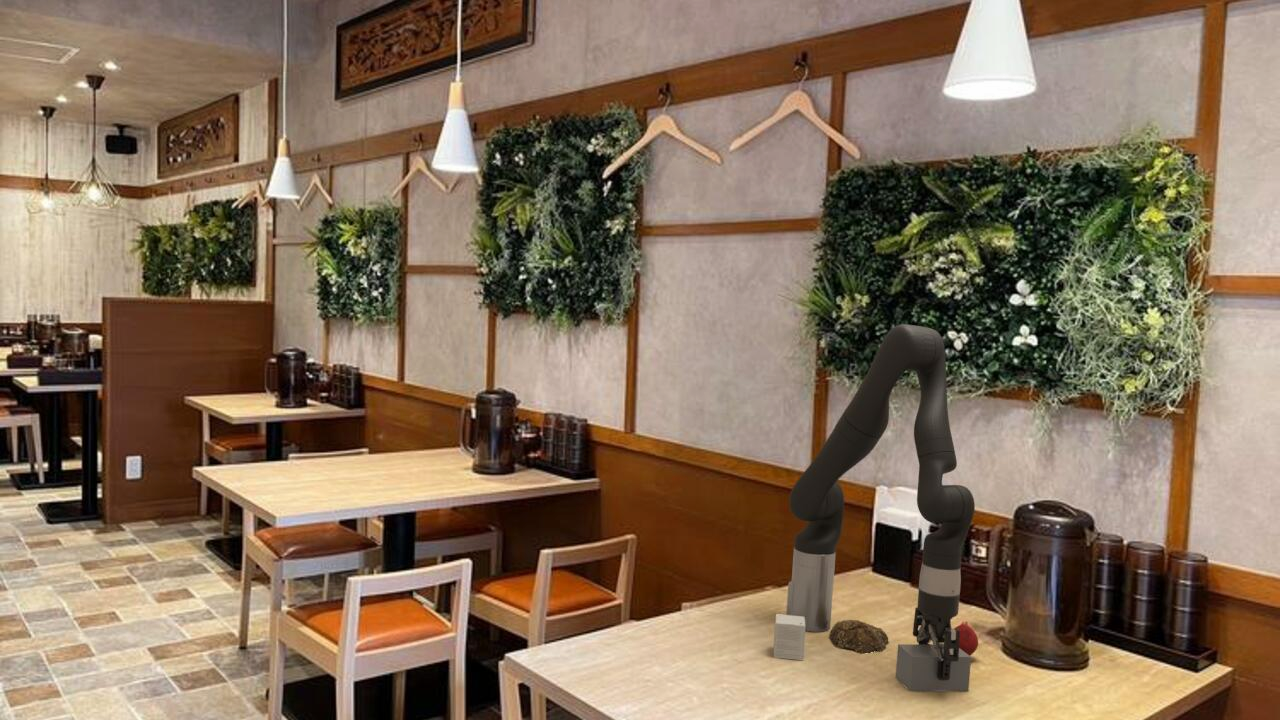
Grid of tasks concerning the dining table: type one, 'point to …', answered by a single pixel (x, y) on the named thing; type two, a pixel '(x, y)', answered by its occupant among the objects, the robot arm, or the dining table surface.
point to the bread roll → (858, 636)
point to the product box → (789, 637)
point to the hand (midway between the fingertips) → (932, 670)
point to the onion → (967, 638)
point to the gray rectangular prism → (930, 669)
